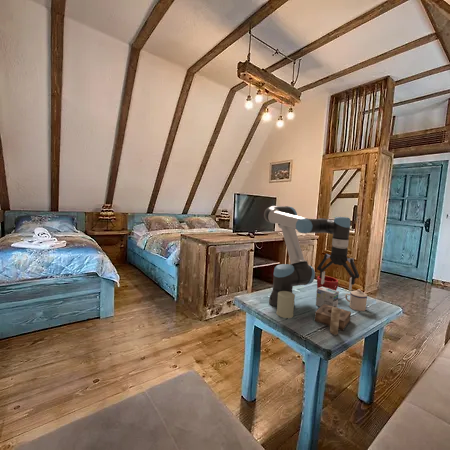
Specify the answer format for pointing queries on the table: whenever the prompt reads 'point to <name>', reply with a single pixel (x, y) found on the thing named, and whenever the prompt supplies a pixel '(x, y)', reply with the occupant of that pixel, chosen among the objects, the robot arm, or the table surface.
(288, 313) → the can
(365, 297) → the teacup with lid
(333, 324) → the dowel pin
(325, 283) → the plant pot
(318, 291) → the light bulb box
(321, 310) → the bore block
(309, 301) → the table surface
